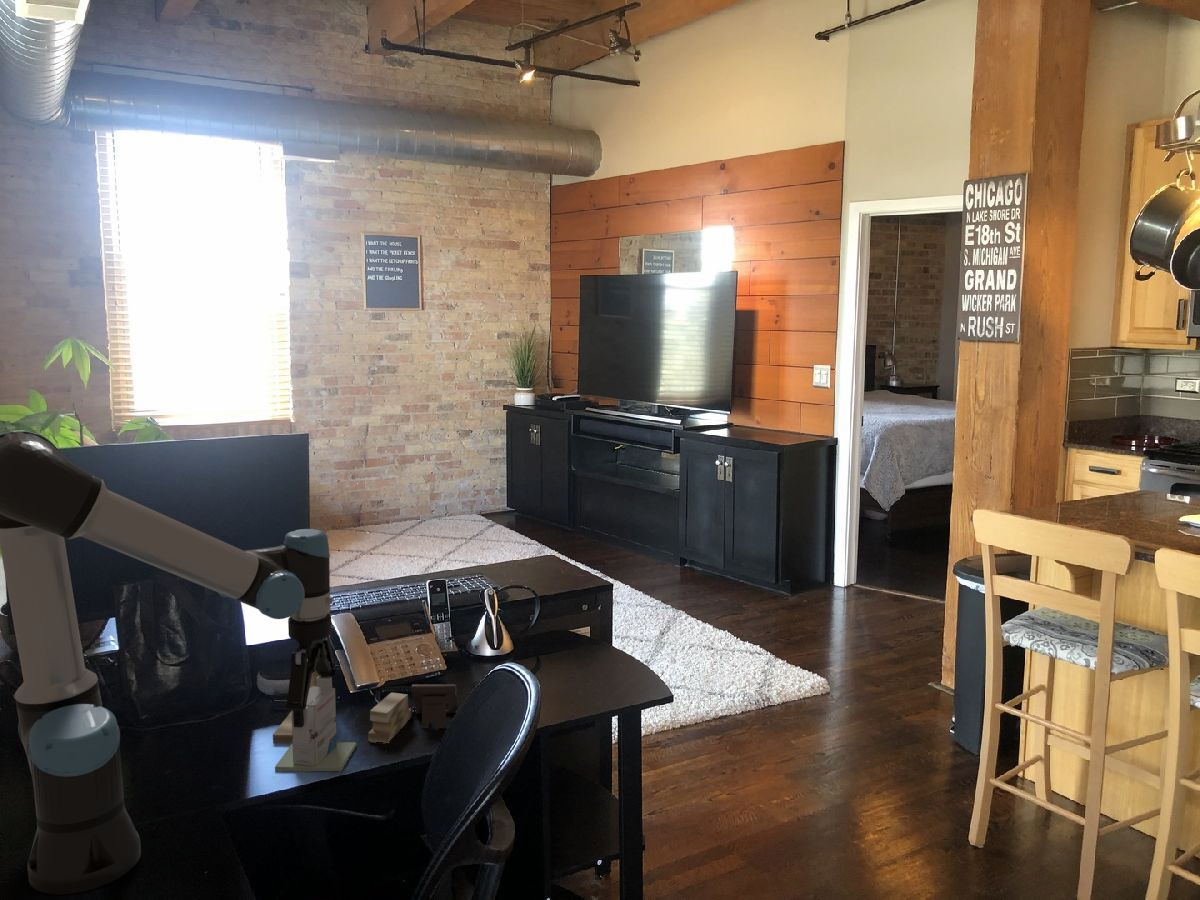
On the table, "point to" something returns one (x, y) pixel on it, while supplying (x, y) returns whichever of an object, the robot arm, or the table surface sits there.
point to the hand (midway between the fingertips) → (313, 725)
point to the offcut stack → (389, 717)
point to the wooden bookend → (290, 721)
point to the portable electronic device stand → (434, 702)
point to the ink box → (318, 727)
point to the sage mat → (329, 763)
